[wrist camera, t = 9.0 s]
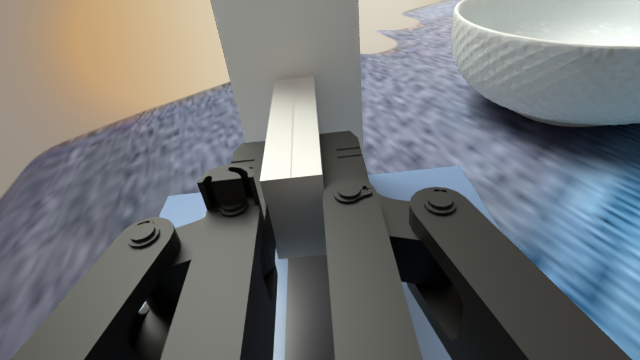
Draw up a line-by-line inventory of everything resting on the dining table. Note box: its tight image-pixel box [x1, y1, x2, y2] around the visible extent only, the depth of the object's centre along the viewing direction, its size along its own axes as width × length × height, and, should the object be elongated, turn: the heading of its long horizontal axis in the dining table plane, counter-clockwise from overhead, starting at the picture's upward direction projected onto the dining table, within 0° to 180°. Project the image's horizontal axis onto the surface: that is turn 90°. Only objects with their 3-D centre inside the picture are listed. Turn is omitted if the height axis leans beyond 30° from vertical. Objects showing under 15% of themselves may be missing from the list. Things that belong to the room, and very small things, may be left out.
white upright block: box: [211, 0, 363, 156], centre depth 15 cm, size 3×5×14 cm, turn 92°
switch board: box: [139, 166, 501, 360], centre depth 14 cm, size 16×16×2 cm
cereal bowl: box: [451, 0, 640, 127], centre depth 26 cm, size 17×17×7 cm
